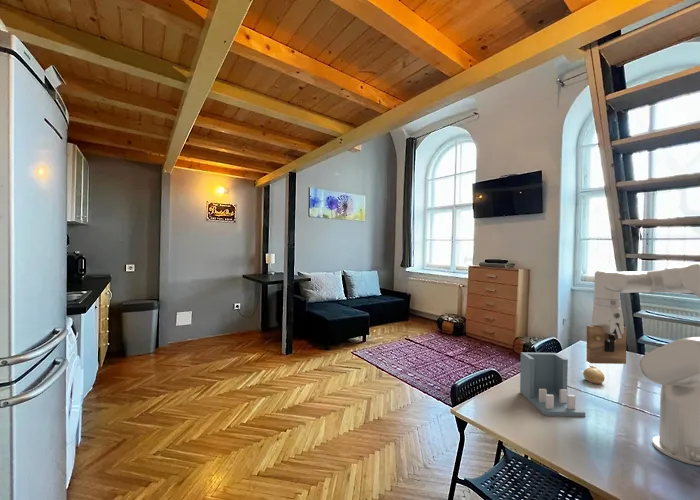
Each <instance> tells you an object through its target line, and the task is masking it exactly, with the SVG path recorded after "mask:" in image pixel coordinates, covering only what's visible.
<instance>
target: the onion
mask: <svg viewBox="0 0 700 500" xmlns="http://www.w3.org/2000/svg"><path fill="white" fill-rule="evenodd" d="M582 375H583V379H585V380H586V381H587V382H589V383H590V384H593V385H594V384H595V385H597V384H598V385H601V384H602V383H604V382H605V378H606V377H605V375H604V373H603V372H602V371H601V369H598V368H597V367H596V366H594V365H590V364H589V367H587V368H585V369H584V371H583V373H582Z"/></svg>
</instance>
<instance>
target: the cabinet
mask: <svg viewBox="0 0 700 500" xmlns="http://www.w3.org/2000/svg"><path fill="white" fill-rule="evenodd" d="M568 360H569V359H568V358H566V357H565V356H562V355H560V354H559V353H557V352H522V351H521V352H520V373H519V374H520V376H519V377H520V378H519V385H520V386H519V392H521V393H522V394H523V395H524V397H525V399H526V400H528V402H530V404H532V406H534V407H535V408H536V409H537V410H538V411H539V412H540V413H541V414H542V415H543V416H547V417H548V416H551V417H553V416H554V417H555V416H556V417H586V411H584V410H583V409H581V408H580V407H579V406H578V405H576V395H574V394H568V371H569V370H568V368H569V367H568V366H569V365H568V364H569V363H568V362H569V361H568ZM521 393H520V394H521ZM522 394H521V395H522ZM523 395H522V396H523Z"/></svg>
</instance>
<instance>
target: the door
mask: <svg viewBox="0 0 700 500" xmlns="http://www.w3.org/2000/svg"><path fill="white" fill-rule="evenodd" d="M627 328H628V327H627V326H624V333H623V334H621V337H622V338H619V339H617V340H616V342H615V343H614V352H606V351H605V341H606V333H605V332H603V327H601V326H598V325H592V324H591V325H588V324H587V325H586V362H588V363H589V364H600V365H601V364H604V365H605V364H606V365H607V364H613V365H614V364H615V365H626V364H627ZM611 336H612V335H610V337H611Z"/></svg>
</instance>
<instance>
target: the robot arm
mask: <svg viewBox="0 0 700 500" xmlns="http://www.w3.org/2000/svg"><path fill="white" fill-rule="evenodd" d="M593 292H594V296H593V297H594V298H593V299H594V300H593V301H594V303H593V307H592V308H593V309H592V315H591V316H592V319H591V321H592V323H591V325H598V326H601V327H603V332H605V333H606V341H605V351H606V352H614V343H615V342H616V340H617V339H619V338H622V337H621V334H623V333H624V327H625V326H624V317H623V311H622V308H621V307H620V306H621V305H620V303H621V302H620V298H621V297H620V296H621V294H631V293H660V292H661V293H664V292H669V293H673V294H694V295H695V296H696V297H698V298H700V262H694V263H690V264H686V265H685V264H684V265H683V264H681V265H671V266H668V267H665V268H664V269H659V270H646V271H644V270H642V271H615V270H605V269H603V270H597V271H595V272H594V291H593ZM610 335H612V336H611V337H610ZM639 370H640V371H641V373H642V375H643V376H644V377H645V378H646V379H647V380H648V381H651V382H652V383H655V384H657V385H661V387H660V395H659V397H660V398H659V399H660V400H659V405H660V406H659V427H658V428H659V429H658V430H659V432H658V433H659V435H657V436H654V437H652V440H651V441H652V442H651V443H652V445H653V446H654V448H656V450H658V451H659V452H661V453H662V454H664V455H666V456H667V457H670V458H672V459H675V460H676V461H679V462H682V463H685V464H688V465H693V466H698V467H700V336H691V337H690V336H689V337H683V338H680V339H676V340H674V341H671V342H669V343H667V344H664V345H662V346H660V347H658V348H655V349H653V350H650V351H649V352H647V353H645V354H644V355H643V356H642V357H641V359H640V360H639Z"/></svg>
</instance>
